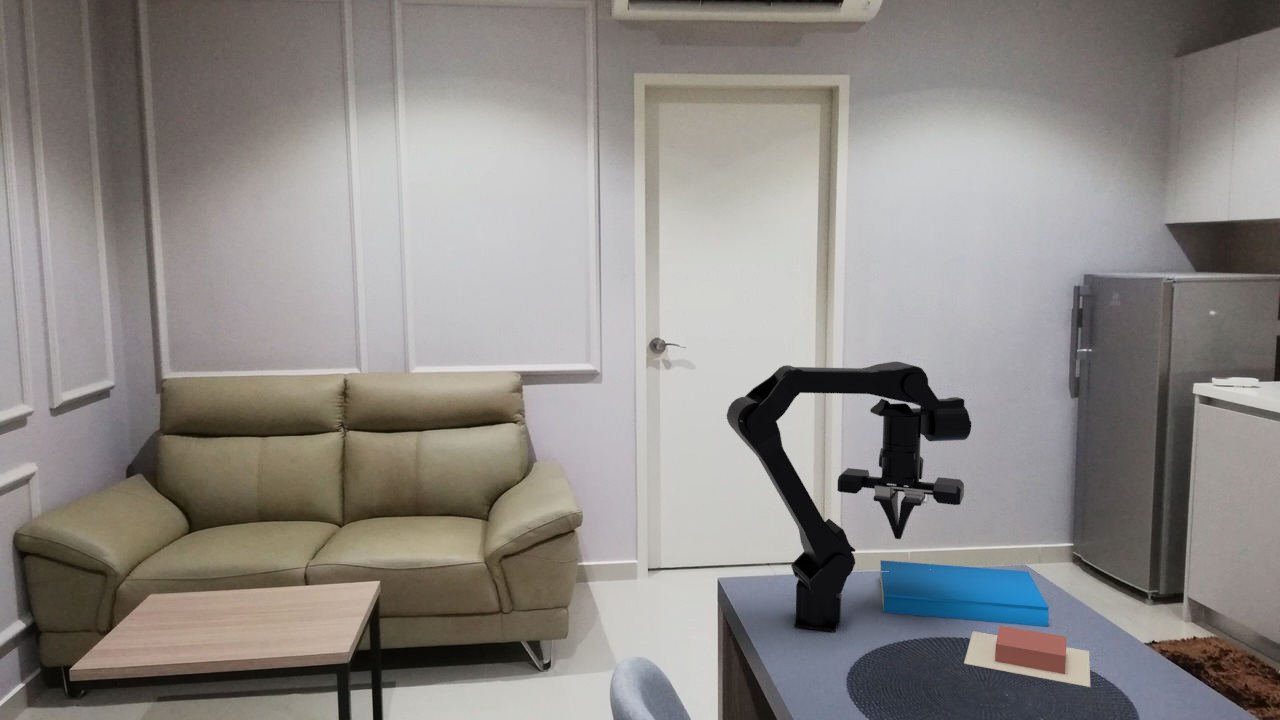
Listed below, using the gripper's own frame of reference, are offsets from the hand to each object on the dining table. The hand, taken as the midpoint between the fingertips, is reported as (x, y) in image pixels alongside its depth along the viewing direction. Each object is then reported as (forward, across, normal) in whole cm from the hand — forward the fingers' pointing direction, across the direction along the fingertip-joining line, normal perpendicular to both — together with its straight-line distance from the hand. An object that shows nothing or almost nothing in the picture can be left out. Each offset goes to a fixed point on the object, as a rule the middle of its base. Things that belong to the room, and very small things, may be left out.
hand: (898, 538), depth 142 cm
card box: (+11, -16, +8) cm, 21 cm away
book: (+14, -8, -10) cm, 19 cm away
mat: (+13, -20, +8) cm, 25 cm away
